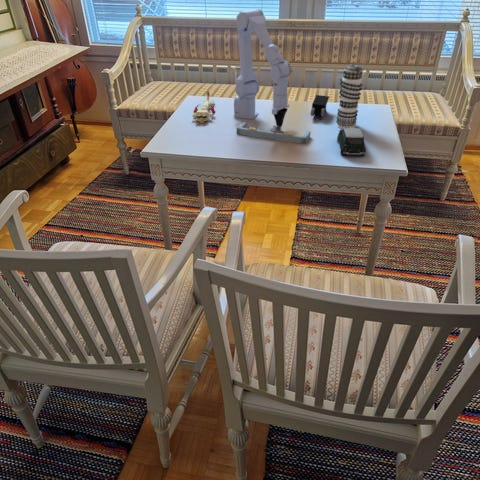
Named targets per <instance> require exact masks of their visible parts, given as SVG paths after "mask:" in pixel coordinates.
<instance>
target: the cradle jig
mask: <svg viewBox="0 0 480 480" xmlns="http://www.w3.org/2000/svg"><path fill="white" fill-rule="evenodd" d="M236 134H237V135H244V136H248V137H249V136H251V137H257V138H263V139H270V140H276V141H282V142H290V143H295V144H303V145H304V144H305V145H306V143H307V142H308V141H309V139H310V138H311V130H307V131H306V132H305V133H304V134H303V135H296V134H294V133H293V132H285V133H283V132H278V131H277V132H270V131H268V130H264V129H263V130H262V129H257V127H251V126H249V128H248V122H246V121H243V122H242V123H241V124H240V125H238V126H237V127H236Z"/></svg>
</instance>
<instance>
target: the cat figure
mask: <svg viewBox="0 0 480 480" xmlns="http://www.w3.org/2000/svg"><path fill="white" fill-rule="evenodd" d="M210 96H211V95H210V91H209V90H207V91H206V100H204V101H203V103H202V105H201V103H199V104H197V105H196V106H195V107H194V110H193V114H191V115H192V117H193V118H195V120H196V121H198V122H199V123H200V124H201V123H205V122H207V121H210V120H211V118H214V115H215V114H216V110H215V108H214V106H216V103H215V102H214V100H210ZM199 106H201V108H200V109H198V108H199ZM209 109H210V111H211V112H209Z"/></svg>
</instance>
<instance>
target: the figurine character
mask: <svg viewBox="0 0 480 480" xmlns="http://www.w3.org/2000/svg"><path fill="white" fill-rule="evenodd" d="M329 98H330V96H328V95H321V94H316V95H315V97H314V100H313V102H312V103H311V110H310V116H311V117H312V118H313V120H316V118H319V121H321V120H322V118H323V117H325V115H326V114H327V104H328V101H329Z"/></svg>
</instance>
